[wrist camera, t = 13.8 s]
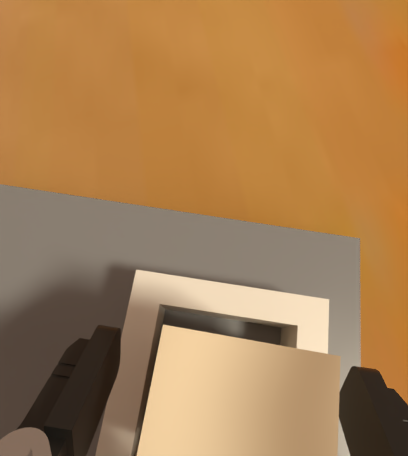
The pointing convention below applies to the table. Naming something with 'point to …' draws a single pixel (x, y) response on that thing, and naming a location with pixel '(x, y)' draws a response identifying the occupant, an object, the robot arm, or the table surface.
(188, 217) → the jig board
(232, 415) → the block
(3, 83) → the table surface
